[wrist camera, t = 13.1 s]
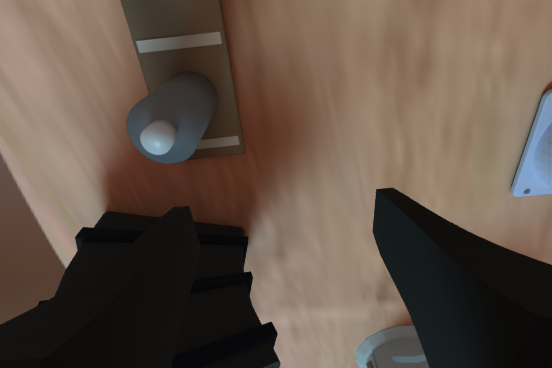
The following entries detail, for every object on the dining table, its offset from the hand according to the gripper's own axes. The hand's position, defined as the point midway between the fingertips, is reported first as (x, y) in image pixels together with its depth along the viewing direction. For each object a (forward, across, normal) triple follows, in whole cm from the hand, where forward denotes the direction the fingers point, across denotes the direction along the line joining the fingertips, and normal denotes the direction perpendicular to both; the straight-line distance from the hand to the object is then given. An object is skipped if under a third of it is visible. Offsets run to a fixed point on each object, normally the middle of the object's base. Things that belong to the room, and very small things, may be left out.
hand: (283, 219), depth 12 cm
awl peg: (+9, +5, -3) cm, 11 cm away
